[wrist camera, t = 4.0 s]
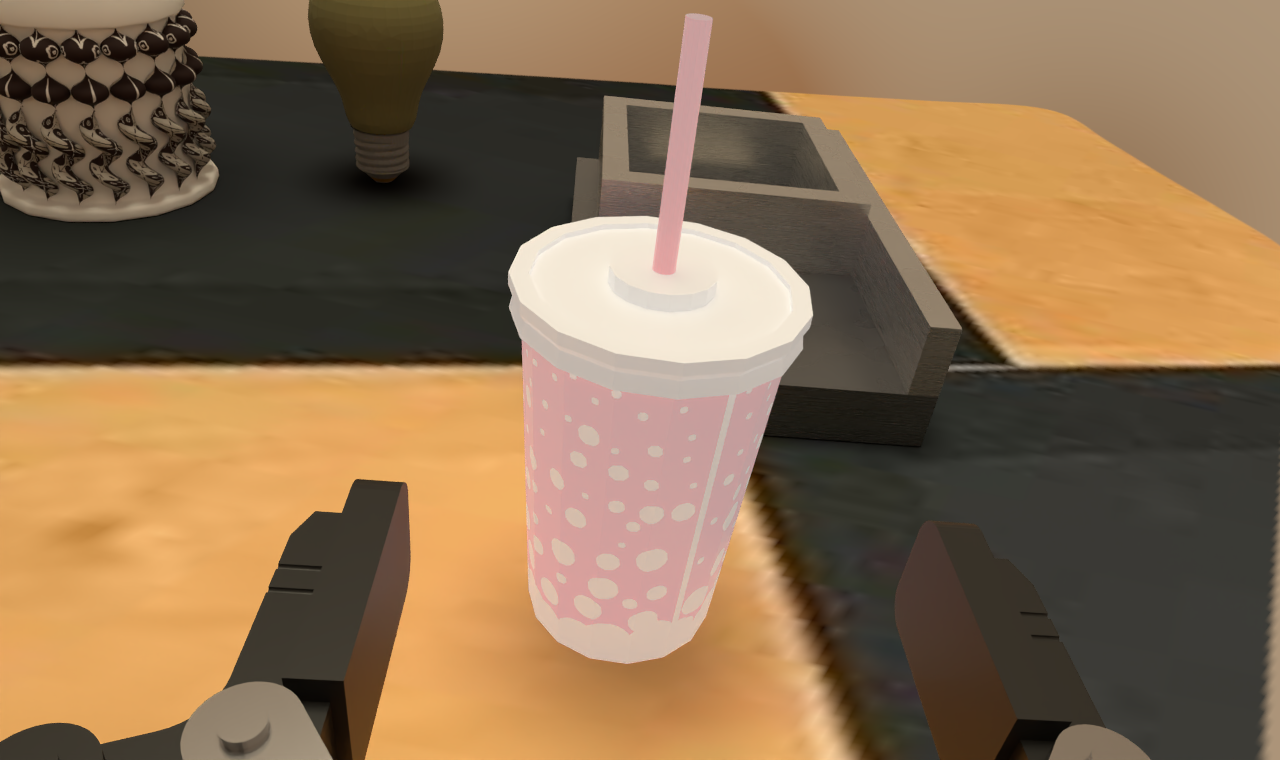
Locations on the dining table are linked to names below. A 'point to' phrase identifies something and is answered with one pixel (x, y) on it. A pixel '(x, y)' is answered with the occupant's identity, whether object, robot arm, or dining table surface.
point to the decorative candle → (101, 110)
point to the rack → (798, 258)
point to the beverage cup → (645, 403)
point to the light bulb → (378, 71)
